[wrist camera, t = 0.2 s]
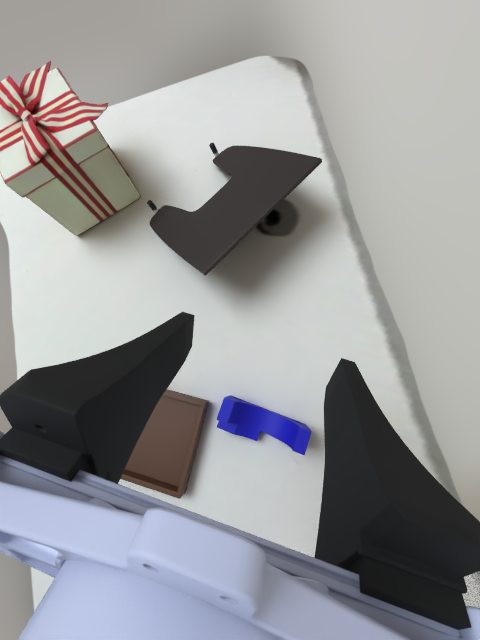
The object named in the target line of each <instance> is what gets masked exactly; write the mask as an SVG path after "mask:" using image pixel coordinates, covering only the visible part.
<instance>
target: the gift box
mask: <svg viewBox="0 0 480 640" xmlns="http://www.w3.org/2000/svg"><path fill="white" fill-rule="evenodd" d="M50 65H51V61H49V62H48V63H47V64H46V65H44V66H42V67H40V68H39V69H37V70H35V71H33V72H31V73H29V74H27V75H26V76H25V77H24V79H23V80H22V82H21V85H20V87H18V85H17V84H16V83H15V82H14V81H13V79H12V78H11V77H10V76H8V77H6V78H5V79H4V80H3V81H1V82H0V174H1V176H2V178H3V180H4V182H5V184H6V185H7V186H8V187H10V188H11V189H12V190H13V191H15V192H16V193H17V194H19V195H20V196H21V197H25V196H26V197H27V198H28V199H30V200H31V201H32V202H33V203H35V204H36V205H37V206H39V207H40V208H41V209H42V210H44V211H45V212H46V213H48V214H49V215H50V216H51V217H53V218H54V219H55V220H56V221H57V222H59V223H60V224H61V225H63V226H64V227H65V228H66V229H68V230H69V231H70V232H71V233H73V234H74V235H76V236H77V235H79V234H81V233H83V232H84V231H86V230H88V229H89V228H91V227H93V226H94V225H96V224H98V223H99V222H101V221H103V220H104V219H106V218H108V217H109V216H111V215H113V214H114V213H116V212H117V211H119V210H121V209H122V208H124V207H126V206H127V205H129V204H130V203H132V202H134V201H135V200H137V199H139V198H140V195H139V193H138V191H137V190H136V188H135V187H134V185H133V184H132V182H131V180H130V179H129V176H128V174H127V172H126V171H125V170H124V168H123V167H122V165H121V163H120V162H119V160H118V159H117V157H116V156H115V154H114V153H113V151H112V150H111V148H110V147H109V145H108V143H107V142H106V140H105V139H104V137H103V136H102V134H101V133H100V131H99V130H98V128H97V126H96V125H95V123H94V122H93V120H96V119H97V118H98V117H99V116H100V115H101V114H102V113H103V112H104V111H105V110H106V109H107V107H108V103H105V104H102V105H97V104H89V103H85V102H81V101H80V99H79V98H78V96H77V95H76V94H75V93H74V91H73V90H72V88H71V87H70V85H69V83H68V82H67V80H66V79H65V77H64V76H63V75H62V73H61V71H60V70H59V69H58V68H56V69H54V70H52V71H50V72H49V69H50Z"/></svg>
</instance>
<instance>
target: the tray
mask: <svg viewBox="0 0 480 640" xmlns="http://www.w3.org/2000/svg"><path fill="white" fill-rule="evenodd" d="M208 403H209V401H207V400H203V399H200V398H196V397H192V396H189V395H185V394H181V393H178V392H174V391H171V390H167V389H166V391H165V392H164V394H163V395H162V397H161V398H160V400H159V401H158V403H157V405H156V406H155V408H154V410H153V412H152V414H151V416H150V418H149V420H148V422H147V424H146V426H145V428H144V430H143V432H142V434H141V436H140V438H139V439H138V442H137V444H136V446H135V448H134V450H133V452H132V454H131V456H130V458H129V460H128V463H127V465H126V467H125V469H124V471H123V474H122V476H121V478H120V479H123V480H126V481H129V482H132V483H135V484H138V485H141V486H144V487H147V488H150V489H153V490H156V491H159V492H162V493H165V494H168V495H171V496H173V497H176V498H179V499H180V498H181V497H182V496H183V494H184V493H185V491H186V488H187V484H188V480H189V476H190V472H191V468H192V465H193V461H194V457H195V453H196V449H197V445H198V442H199V438H200V434H201V430H202V426H203V422H204V419H205V415H206V411H207V407H208Z"/></svg>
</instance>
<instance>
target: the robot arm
mask: <svg viewBox="0 0 480 640" xmlns="http://www.w3.org/2000/svg"><path fill="white" fill-rule="evenodd" d="M193 326H194V315H192V314H188V313H185V312H182V313H180V314H178V315H177V316H175V317H173V318H172V319H170V320H168V321H167V322H165V323H163V324H162V325H160V326H158V327H156V328H155V329H153V330H151V331H149V332H148V333H146V334H144V335H142V336H140V337H138V338H136V339H134V340H132V341H130V342H128V343H125V344H123V345H121V346H118V347H116V348H113V349H111V350H108V351H105V352H102V353H99V354H96V355H93V356H90V357H87V358H83V359H79V360H76V361H72V362H67V363H63V364H59V365H54V366H48V367H43V368H38V369H32V370H30V371H29V372H27V373H26V374H25V375H24V376H22V377H21V378H20V379H19V380H17V381H16V382H15V383H14V384H13V385H11V386H10V387H9V388H8V389H7V390H5V391H4V392H3V393H2V394H1V395H0V406H1V409H2V410H3V412H4V414H5V415H6V417H7V419H8V421H9V422H10V424H11V426H12V428H11V429H10V430H9V431H8V432H7V433H6V434H4V433H3V432H1V431H0V552H2V553H4V554H6V555H8V556H10V557H13V558H14V559H17V560H19V561H21V562H23V563H25V564H27V565H29V566H31V567H33V568H35V569H37V570H40V571H42V572H44V573H46V574H48V575H50V576H52V577H54V578H55V579H54V580H53V582H52V584H51V585H50V587H49V589H48V590H47V592H46V594H45V595H44V597H43V599H42V600H41V602H40V604H39V605H38V607H37V609H36V610H35V612H34V614H33V615H32V617H31V619H30V620H29V622H28V623H27V625H26V627H25V628H24V630H23V632H22V634H21V635H20V637H19V638H18V640H480V608H477V607H471V606H465V602H464V599H463V595H462V593H467V587H466V584H465V581H464V576H467V575H470V574H472V573H475V572H478V571H480V522H479V521H478V520H477V519H476V518H475V517H474V516H473V515H472V514H471V513H470V512H469V511H468V510H467V509H466V508H465V507H463V506H462V505H461V504H460V503H459V502H458V501H457V500H456V499H455V498H454V497H453V496H452V495H451V494H450V493H449V492H448V491H447V490H446V489H445V488H444V487H443V486H442V485H441V484H440V483H439V482H438V481H437V480H436V479H435V478H434V477H433V476H432V475H431V474H430V473H429V472H428V471H427V469H426V468H425V467H424V466H423V465H422V464H421V463H420V462H419V460H418V459H417V458H416V457H415V456H414V455H413V453H412V452H411V451H410V450H409V448H408V447H407V446H406V445H405V444H404V442H403V441H402V440H401V438H400V437H399V436H398V434H397V433H396V432H395V430H394V429H393V427H392V426H391V425H390V423H389V422H388V420H387V419H386V417H385V415H384V414H383V412H382V411H381V409H380V408H379V406H378V404H377V403H376V401H375V399H374V397H373V396H372V394H371V392H370V390H369V388H368V387H367V385H366V383H365V381H364V379H363V377H362V375H361V373H360V371H359V369H358V367H357V365H356V364H355V362H352V361H349V360H346V359H342V358H341V360H340V362H339V364H338V366H337V368H336V369H335V371H334V373H333V375H332V377H331V379H330V381H329V383H328V385H327V386H326V392H325V401H324V431H325V469H324V482H323V492H322V503H321V512H320V521H319V529H318V537H317V544H316V551H315V558H313V557H311V556H308V555H305V554H303V553H300V552H297V551H295V550H292V549H289V548H287V547H284V546H281V545H279V544H276V543H273V542H271V541H268V540H265V539H263V538H260V537H257V536H255V535H252V534H249V533H247V532H244V531H241V530H239V529H236V528H233V527H231V526H228V525H225V524H223V523H220V522H217V521H215V520H212V519H209V518H207V517H204V516H201V515H199V514H196V513H194V512H191V511H188V510H186V509H183V508H180V507H178V506H175V505H172V504H170V503H167V502H164V501H162V500H159V499H156V498H154V497H151V496H148V495H146V494H143V493H140V492H138V491H135V490H132V489H130V488H127V487H124V486H122V485H119V484H118V482H119V480H120V478H121V476H122V474H123V471H124V469H125V467H126V465H127V463H128V460H129V458H130V456H131V454H132V452H133V450H134V448H135V446H136V444H137V442H138V439H139V438H140V436H141V434H142V432H143V430H144V428H145V426H146V424H147V422H148V420H149V418H150V416H151V414H152V412H153V410H154V408H155V406H156V405H157V403H158V401H159V400H160V398H161V397H162V395H163V394H164V392H165V391H166V389H167V388H168V386H169V385H170V383H171V382H172V380H173V379H174V377H175V376H176V374H177V373H178V371H179V370H180V368H181V366H182V365H183V363H184V361H185V360H186V358H187V356H188V353H189V351H190V349H191V347H192V339H193Z"/></svg>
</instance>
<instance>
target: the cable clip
mask: <svg viewBox="0 0 480 640" xmlns="http://www.w3.org/2000/svg"><path fill="white" fill-rule="evenodd" d="M217 420H219V422H218V425H217V427H218V428H220V429H223V430H225V431H227V432H230V433H232V434H235V435H240V436H244V437H247V438H250V439H253V440H255V441H257V440H258V437H259V434H260V431H262V432H264V433H266V434H269V435H271V436H273V437H275V438H277V439H279V440H280V441H282V442H284V443H285V444H287V445H288V446H289V447H290V448H291V449H292V450H293V451H295V452H297V453H300V454H302V455H305V451H306V448H307V445H308V441H309V438H310V435H311V430H310V429H309V428H308V427H307V426H306V424H303V423H300V422H298V421H295V420H293V419H290V418H288V417H285V416H282V415H280V414H277V413H275V412H272V411H269V410H267V409H264V408H262V407H259V406H257V405H254V404H251V403H249V402H246V401H244V400H241V399H238V398H236V397H233V396H231V395H230V396H228V397H225V398H224V400H223V403H222V406H221V408H220V411H219V414H218V417H217Z"/></svg>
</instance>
